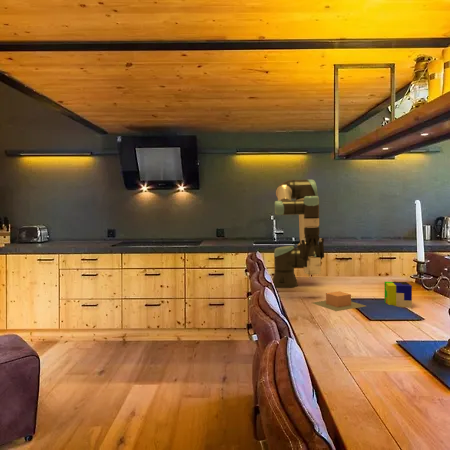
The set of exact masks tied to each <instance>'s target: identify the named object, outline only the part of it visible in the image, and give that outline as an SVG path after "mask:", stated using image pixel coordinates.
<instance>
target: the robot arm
mask: <svg viewBox="0 0 450 450" xmlns="http://www.w3.org/2000/svg"><path fill="white" fill-rule="evenodd" d="M275 196H276V197H277V200H275V201H274V214H275V215H276V216H293V215H297V216H298V221H299V222H298V224H299V226H298V227H299V228H298V230H299V240H298V241H299V243H298V244H297V245H296V246H297V247H296V248H295V247H294V245H285V246H280V247H279V246H278V247H276V248H274V252H273V253H274V254H273V260H274V265H273V266H274V269H273V270H274V273H273V276H272V280H273V283H274V285H275V286H276V287H275V288H280V287H290V288H296V287H297V286H298V280H297V277H296V275H295V274H296V273H295V269H304V267H305V273H304V274H306V275H309V261H308V257H319V258H321V260H323V258H325V248H324V247H325V246H324V241H325V238H323V237H320V227H319V226H320V197H319V194H318V186H317V183H316V181H315V180H314V179H288V180H285V181H283V182H281V183H280V184H278V186H277V188H276V190H275ZM295 286H296V287H295Z"/></svg>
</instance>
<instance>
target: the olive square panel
mask: <svg viewBox="0 0 450 450" xmlns="http://www.w3.org/2000/svg"><path fill="white" fill-rule="evenodd" d="M312 304H314V305H316V306H320V307H323V308H325V309H328V310H331V311H334V312H340V311H341V312H342V311H347V310H352V309H358V308H359V309H360V308H364V307H366V305H364V304H362V303H358V302H354V301H351V305H349V306H342V307H335V306H332V305H329V304H326V300H320V301H314V302H312Z"/></svg>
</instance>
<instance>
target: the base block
mask: <svg viewBox="0 0 450 450" xmlns="http://www.w3.org/2000/svg"><path fill="white" fill-rule="evenodd" d="M325 301H326V304H329V305H332V306H335V307H342V306H349V305H351V302H352V294H351V293H347V292H343V291H340V290H339V291H334V292H333V291H331V292H327V293H325Z"/></svg>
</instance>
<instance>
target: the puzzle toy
mask: <svg viewBox="0 0 450 450" xmlns="http://www.w3.org/2000/svg"><path fill="white" fill-rule="evenodd" d="M412 294H413V286H412V285H411V284H410V283H408V281H384V303H385V304H387V305H389V306H394V307H398V308H406V309H407V308H413V301H412V300H413V295H412Z"/></svg>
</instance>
